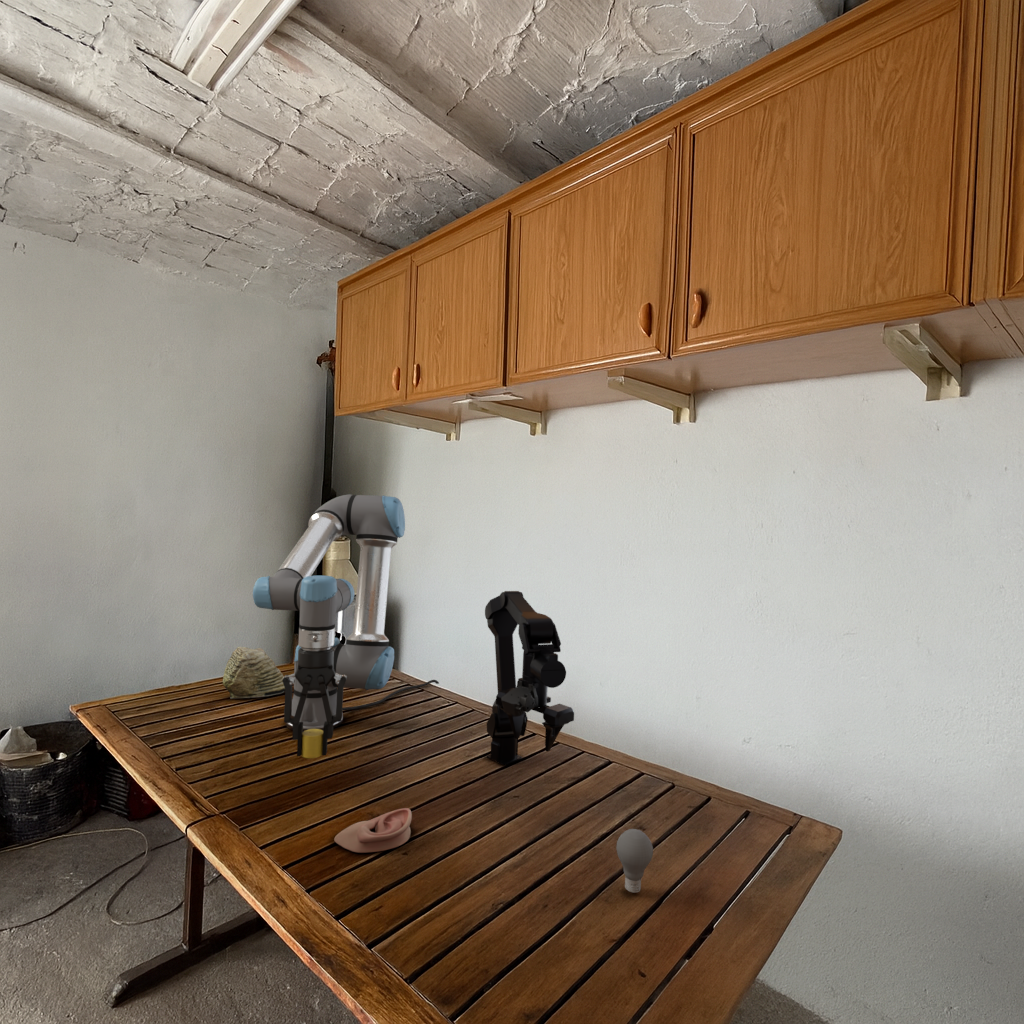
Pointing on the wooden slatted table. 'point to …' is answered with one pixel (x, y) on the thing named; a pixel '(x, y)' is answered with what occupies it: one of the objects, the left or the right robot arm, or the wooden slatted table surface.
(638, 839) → the light bulb
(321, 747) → the canister
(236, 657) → the fossil
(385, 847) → the anatomical model
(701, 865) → the wooden slatted table surface
